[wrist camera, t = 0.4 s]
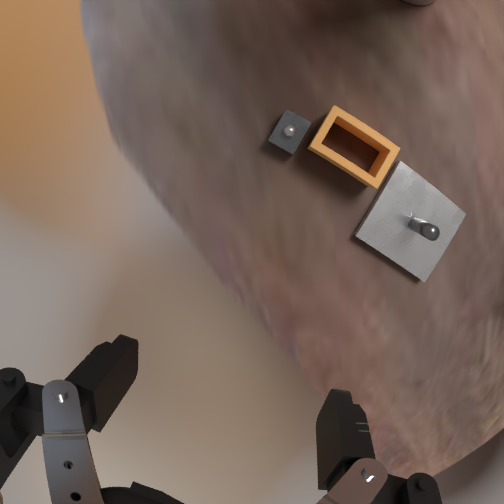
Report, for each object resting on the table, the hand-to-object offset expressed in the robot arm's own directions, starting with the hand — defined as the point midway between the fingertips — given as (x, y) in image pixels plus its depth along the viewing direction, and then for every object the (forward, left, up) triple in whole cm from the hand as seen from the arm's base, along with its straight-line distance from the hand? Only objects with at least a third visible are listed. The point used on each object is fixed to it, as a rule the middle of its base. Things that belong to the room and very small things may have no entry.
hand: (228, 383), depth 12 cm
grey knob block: (-12, -4, -26) cm, 28 cm away
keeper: (-11, +14, -26) cm, 31 cm away
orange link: (-14, +3, -26) cm, 29 cm away
